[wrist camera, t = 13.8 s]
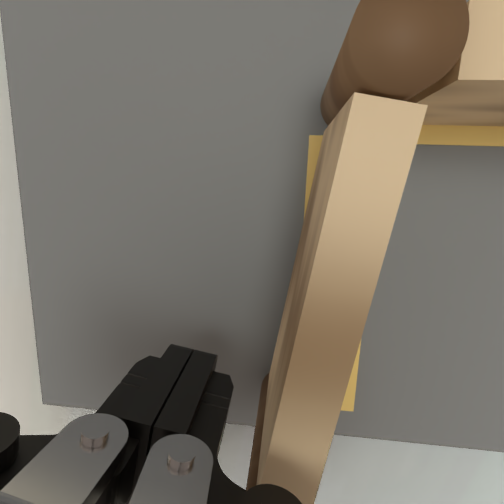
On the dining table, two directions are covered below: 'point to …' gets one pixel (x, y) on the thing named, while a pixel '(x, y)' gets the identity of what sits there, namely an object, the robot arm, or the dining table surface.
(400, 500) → the dining table surface
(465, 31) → the fence fixed
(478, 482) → the dining table surface
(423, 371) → the card
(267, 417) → the fence panel hinged
